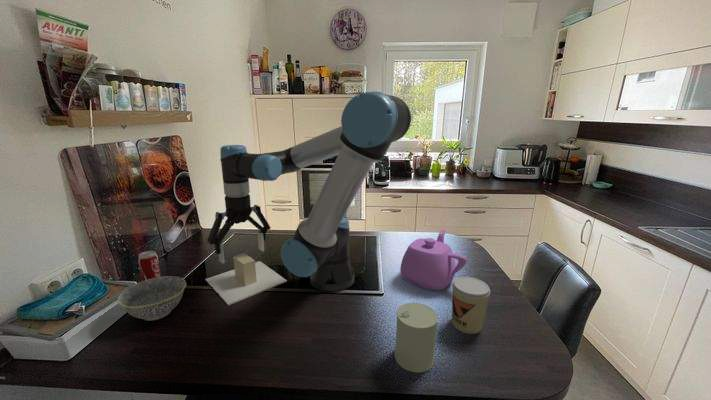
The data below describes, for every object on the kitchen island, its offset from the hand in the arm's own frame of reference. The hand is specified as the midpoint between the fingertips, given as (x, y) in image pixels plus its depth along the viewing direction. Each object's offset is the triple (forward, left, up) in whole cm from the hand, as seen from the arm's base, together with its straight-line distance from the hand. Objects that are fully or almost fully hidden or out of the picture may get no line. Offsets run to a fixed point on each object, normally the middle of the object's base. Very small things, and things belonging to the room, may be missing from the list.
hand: (242, 255), depth 100 cm
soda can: (+17, +24, -10) cm, 31 cm away
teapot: (-42, -47, -10) cm, 64 cm away
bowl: (0, +26, -10) cm, 28 cm away
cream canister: (-63, -34, -10) cm, 73 cm away
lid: (0, 0, -10) cm, 10 cm away
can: (-60, -14, -10) cm, 63 cm away
